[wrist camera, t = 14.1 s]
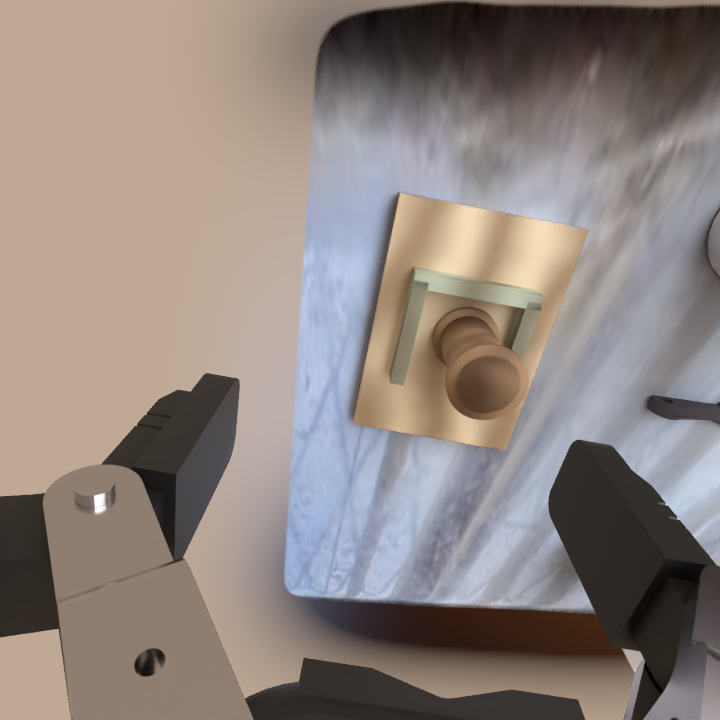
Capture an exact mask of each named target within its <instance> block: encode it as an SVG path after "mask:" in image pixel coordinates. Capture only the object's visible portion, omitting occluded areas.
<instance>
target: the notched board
mask: <svg viewBox="0 0 720 720" xmlns="http://www.w3.org/2000/svg"><path fill="white" fill-rule="evenodd" d="M587 233H588V230H585V229H583V228H579V227H574V226H569V225H564V224H559V223H554V222H548V221H543V220H538V219H533V218H528V217H523V216H518V215H513V214H508V213H503V212H497V211H492V210H487V209H482V208H477V207H472V206H467V205H462V204H457V203H452V202H446V201H441V200H436V199H431V198H426V197H421V196H416V195H411V194H406V193H401V192H399V197H398V202H397V207H396V211H395V216H394V221H393V226H392V231H391V236H390V241H389V246H388V251H387V255H386V260H385V265H384V270H383V275H382V280H381V285H380V290H379V295H378V300H377V304H376V309H375V314H374V319H373V324H372V329H371V334H370V339H369V344H368V348H367V353H366V358H365V363H364V368H363V373H362V378H361V383H360V388H359V393H358V397H357V402H356V407H355V412H354V419H353V424H357V425H362V426H368V427H374V428H380V429H385V430H391V431H397V432H402V433H408V434H414V435H420V436H425V437H431V438H437V439H443V440H448V441H454V442H460V443H465V444H471V445H477V446H483V447H488V448H494V449H500V450H505V451H506V450H507V447H508V445H509V442H510V439H511V437H512V434H513V431H514V429H515V426H516V423H517V421H518V418H519V415H520V413H521V410H522V407H523V405H524V402H525V399H526V396H527V394H528V391H529V388H530V386H531V383H532V380H533V378H534V375H535V372H536V370H537V367H538V364H539V362H540V359H541V356H542V354H543V351H544V348H545V346H546V343H547V340H548V338H549V335H550V332H551V330H552V327H553V324H554V322H555V319H556V316H557V314H558V311H559V308H560V306H561V303H562V300H563V298H564V295H565V292H566V290H567V287H568V284H569V282H570V279H571V276H572V274H573V271H574V268H575V266H576V263H577V260H578V257H579V255H580V252H581V249H582V247H583V244H584V241H585V239H586V236H587ZM460 307H475V308H479V309H481V310H483V311H485V312H486V313H488V314H489V315H490V316H491V317H492V318H493V320H494V321H495V323H496V324H497V326H498V329H499V332H500V343H501V345H502V346H505V347H507V348H509V349H511V350H512V351H513V352H515V353H516V354H517V355H518V356H519V358H520V359H521V361H522V362H523V364H524V365H525V367H526V369H527V372H528V377H529V384H528V389H527V393H526V395H525V397H524V399H523V400H522V402H521V403H520V404H519V405H518V406H517V407H516V408H515V409H514V410H513V411H511V412H510V413H508V414H507V415H504V416H502V417H500V418H497V419H492V420H476V419H472V418H469V417H466V416H464V415H462V414H461V413H459V412H458V411H457V410H456V409H455V408H454V407H453V406H452V404H451V403H450V401H449V398H448V395H447V392H446V388H445V376H446V372H447V370H448V369H447V366H446V365H444V364H443V363H442V362H441V361H440V360H439V358H438V357H437V355H436V353H435V350H434V346H433V332H434V329H435V327H436V325H437V323H438V322H439V320H440V319H441V318H442V317H443V316H444V315H445V314H447V313H448V312H450V311H452V310H454V309H457V308H460Z"/></svg>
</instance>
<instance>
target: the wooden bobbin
mask: <svg viewBox="0 0 720 720" xmlns="http://www.w3.org/2000/svg"><path fill="white" fill-rule="evenodd" d="M433 346H434V350H435V353H436V355H437V357H438V358H439V360H440V361H441V362H442V363H443V364H444V365H446V366H447V369H448V370H447V372H446V376H445V388H446V392H447V395H448V398H449V401H450V403H451V404H452V406H453V407H454V408H455V409H456V410H457V411H458V412H459V413H461V414H462V415H464V416H466V417H469V418H472V419H476V420H492V419H497V418H500V417H502V416H504V415H507V414H508V413H510V412H511V411H513V410H514V409H515V408H516V407H517V406H518V405H519V404H520V403H521V402H522V400H523V399H524V397H525V395H526V393H527V389H528V384H529V377H528V372H527V369H526V367H525V365H524V364H523V362H522V361H521V359H520V358H519V356H518V355H517V354H516V353H515V352H513V351H512V350H511V349H509V348H507V347H505V346H502V345H501V343H500V332H499V329H498V326H497V324H496V323H495V321H494V320H493V318H492V317H491V316H490V315H489V314H488V313H486V312H485V311H483V310H481V309H479V308H475V307H460V308H457V309H454V310H452V311H450V312H448V313H447V314H445V315H444V316H443V317H442V318H441V319H440V320H439V322H438V323H437V325H436V327H435V329H434V332H433Z"/></svg>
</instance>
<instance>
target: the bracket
mask: <svg viewBox="0 0 720 720" xmlns="http://www.w3.org/2000/svg"><path fill="white" fill-rule="evenodd" d="M648 409H649V410H650V411H651V412H653V413H655V414H657V415H659V416H661V417H664V418H667V419H671V420H678V419H695V420H712V421H714V422H716V423H718V424H720V403H719V404H718V405H717V404H709V403H702V402H696V401H689V400H682V399H675V398H668V397H661V396H654V395H653V396H652V398H651V400H650V402H649V404H648Z"/></svg>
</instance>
